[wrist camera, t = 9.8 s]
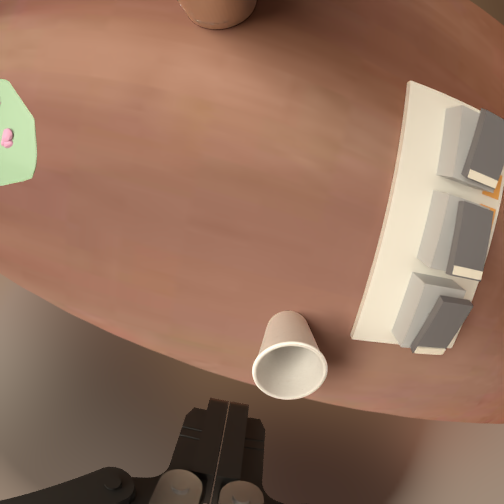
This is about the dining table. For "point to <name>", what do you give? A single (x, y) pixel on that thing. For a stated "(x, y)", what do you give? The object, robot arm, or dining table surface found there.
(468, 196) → the switch unit
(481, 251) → the rocker
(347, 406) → the dining table surface
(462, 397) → the dining table surface
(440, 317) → the rocker
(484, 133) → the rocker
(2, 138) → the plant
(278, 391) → the dixie cup
